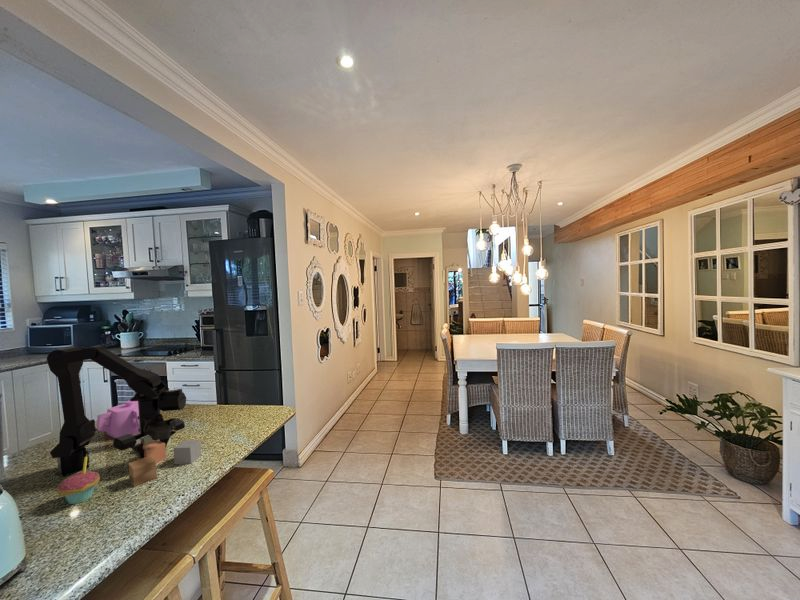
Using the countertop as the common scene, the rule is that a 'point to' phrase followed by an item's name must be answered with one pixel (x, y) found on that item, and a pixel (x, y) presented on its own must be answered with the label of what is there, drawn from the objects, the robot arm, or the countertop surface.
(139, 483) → the walnut block
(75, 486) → the cupcake
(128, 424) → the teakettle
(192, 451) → the slate block
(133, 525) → the countertop surface
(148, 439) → the sage block
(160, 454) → the terracotta block
